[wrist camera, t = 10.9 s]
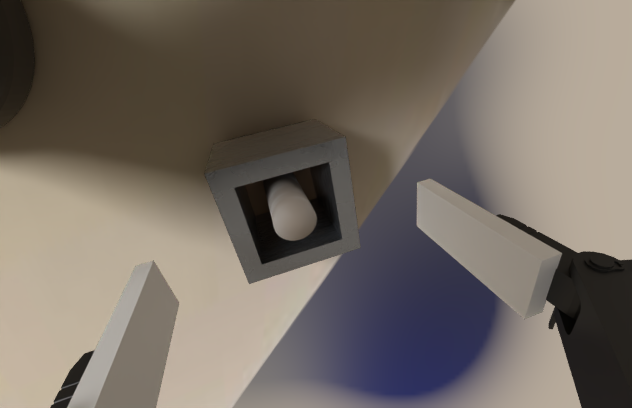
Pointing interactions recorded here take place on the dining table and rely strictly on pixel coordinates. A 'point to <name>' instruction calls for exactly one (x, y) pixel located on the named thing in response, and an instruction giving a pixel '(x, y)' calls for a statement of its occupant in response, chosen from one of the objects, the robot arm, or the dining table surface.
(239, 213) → the collar
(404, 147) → the dining table surface
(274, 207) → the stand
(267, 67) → the dining table surface
